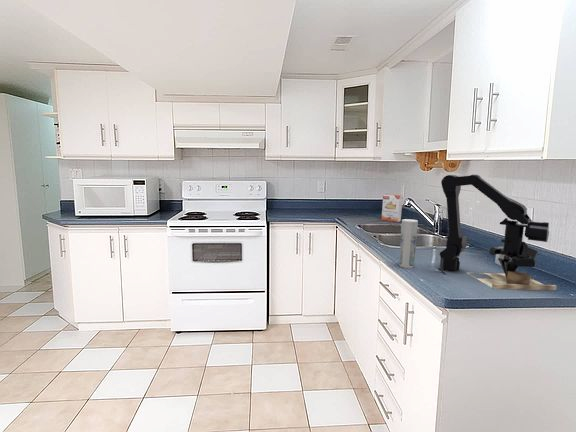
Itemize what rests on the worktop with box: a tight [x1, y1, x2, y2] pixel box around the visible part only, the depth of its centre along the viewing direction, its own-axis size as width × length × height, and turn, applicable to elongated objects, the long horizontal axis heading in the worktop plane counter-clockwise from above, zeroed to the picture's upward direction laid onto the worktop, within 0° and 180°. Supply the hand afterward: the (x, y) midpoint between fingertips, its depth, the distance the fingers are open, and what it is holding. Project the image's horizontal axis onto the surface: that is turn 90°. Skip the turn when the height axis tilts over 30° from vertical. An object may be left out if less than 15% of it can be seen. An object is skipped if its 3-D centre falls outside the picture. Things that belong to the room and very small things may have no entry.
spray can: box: [398, 218, 419, 269], centre depth 156 cm, size 6×6×20 cm
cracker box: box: [381, 193, 404, 223], centre depth 290 cm, size 14×6×21 cm, turn 50°
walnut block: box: [507, 270, 531, 284], centre depth 131 cm, size 5×5×4 cm
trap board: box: [467, 272, 558, 291], centre depth 136 cm, size 22×19×3 cm
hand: (508, 278), depth 136 cm, fingers closed
